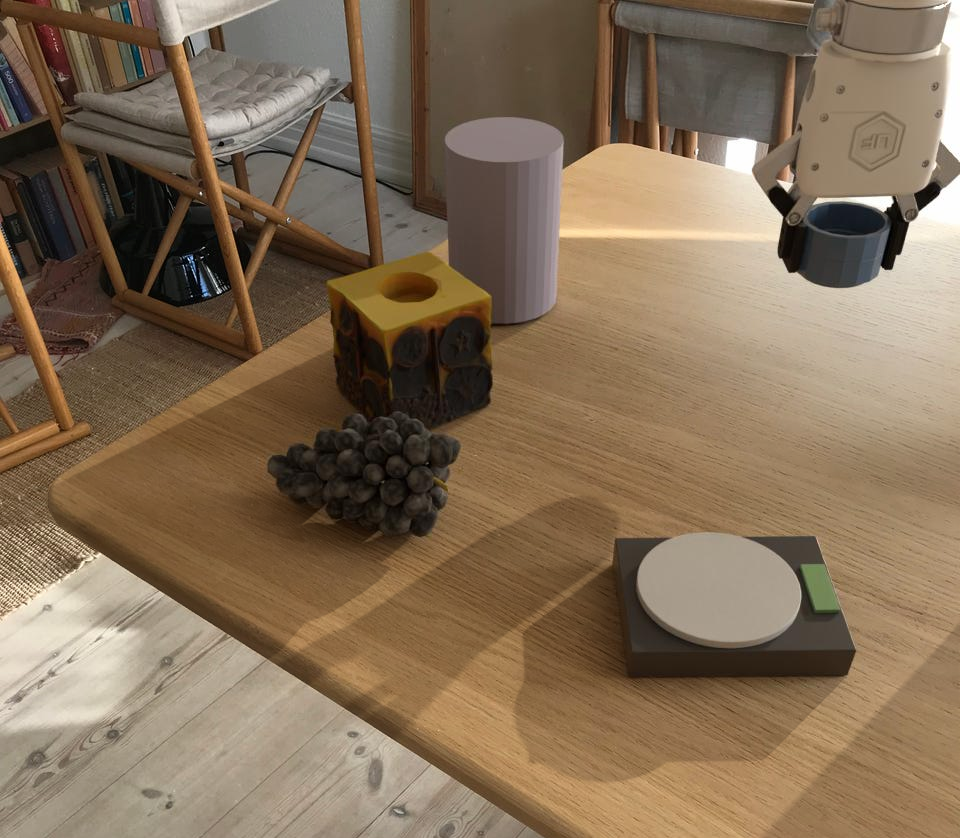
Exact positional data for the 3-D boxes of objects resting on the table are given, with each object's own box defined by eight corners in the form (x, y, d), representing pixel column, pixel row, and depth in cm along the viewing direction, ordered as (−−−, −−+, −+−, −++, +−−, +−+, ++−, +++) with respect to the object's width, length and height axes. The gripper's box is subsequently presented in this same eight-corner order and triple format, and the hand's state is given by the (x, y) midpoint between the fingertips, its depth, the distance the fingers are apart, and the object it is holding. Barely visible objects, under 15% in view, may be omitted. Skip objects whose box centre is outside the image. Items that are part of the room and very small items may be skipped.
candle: (391, 446, 84) (382, 334, 77) (333, 389, 90) (319, 280, 83) (495, 406, 88) (496, 296, 81) (433, 355, 94) (428, 247, 87)
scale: (809, 561, 74) (818, 528, 72) (847, 676, 66) (859, 643, 64) (612, 563, 74) (615, 530, 72) (628, 678, 66) (632, 645, 64)
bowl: (865, 252, 89) (877, 199, 86) (888, 290, 84) (902, 236, 81) (783, 254, 89) (793, 202, 86) (801, 293, 85) (812, 239, 81)
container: (501, 265, 106) (501, 108, 95) (578, 299, 101) (588, 137, 90) (427, 301, 101) (420, 139, 90) (505, 338, 96) (506, 172, 85)
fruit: (237, 405, 72) (440, 440, 68) (293, 380, 79) (480, 410, 75) (241, 522, 76) (433, 561, 72) (294, 489, 83) (472, 522, 79)
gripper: (777, 44, 71) (739, 288, 84) (1032, 35, 71) (955, 282, 84) (756, 13, 77) (723, 247, 89) (993, 5, 76) (927, 241, 89)
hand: (836, 262), depth 86 cm, fingers closed on bowl, 7 cm apart
